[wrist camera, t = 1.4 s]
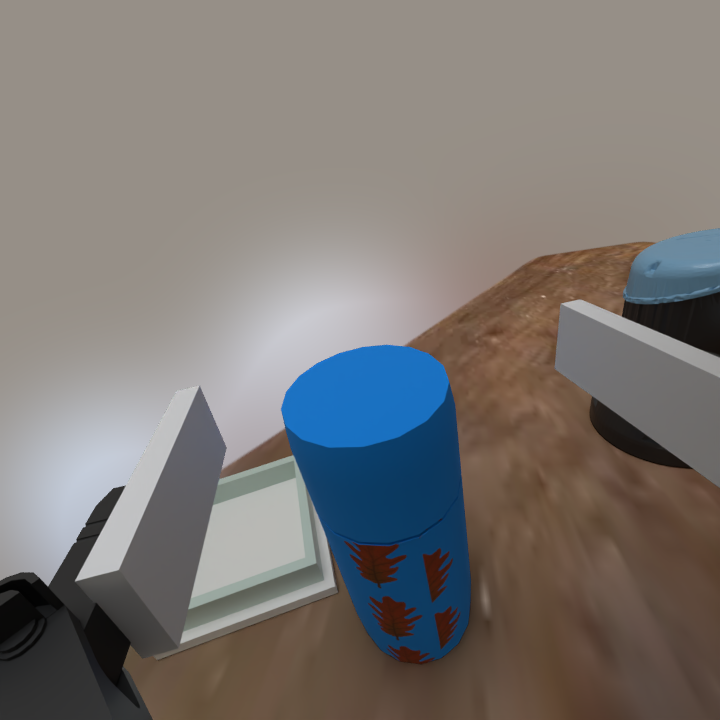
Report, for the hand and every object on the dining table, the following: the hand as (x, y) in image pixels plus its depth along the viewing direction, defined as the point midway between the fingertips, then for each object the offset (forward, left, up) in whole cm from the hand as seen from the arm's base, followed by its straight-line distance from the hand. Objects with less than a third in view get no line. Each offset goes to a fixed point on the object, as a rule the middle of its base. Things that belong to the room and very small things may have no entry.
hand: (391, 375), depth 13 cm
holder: (+16, -20, -30) cm, 40 cm away
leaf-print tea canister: (0, -8, -31) cm, 32 cm away
